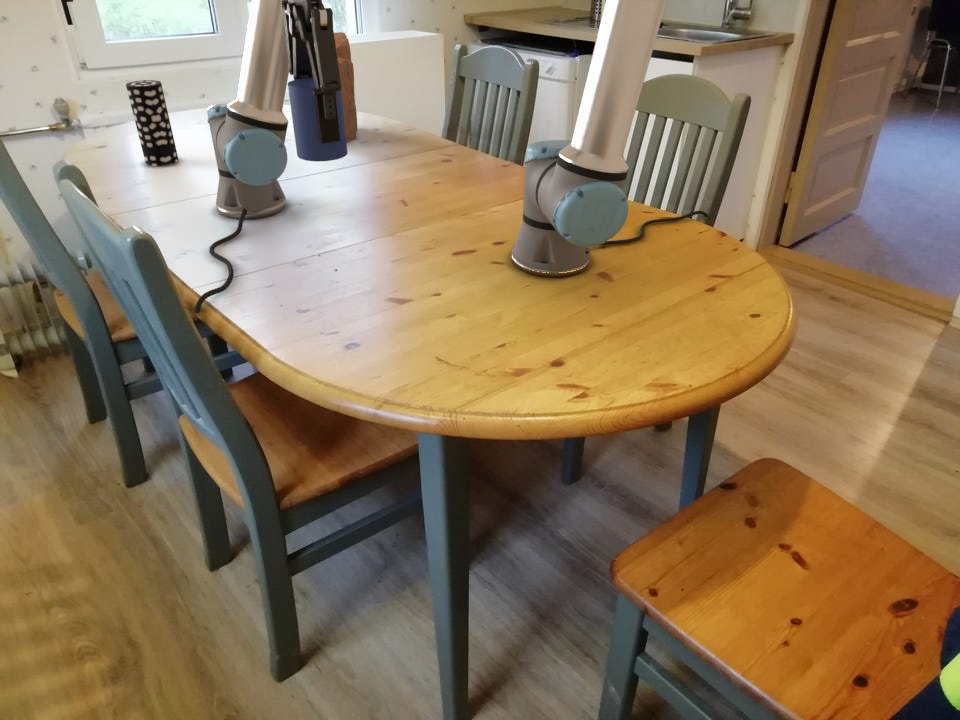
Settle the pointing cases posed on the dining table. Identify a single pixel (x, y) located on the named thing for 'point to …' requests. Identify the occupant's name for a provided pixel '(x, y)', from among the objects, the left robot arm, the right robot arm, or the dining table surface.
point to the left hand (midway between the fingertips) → (24, 26)
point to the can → (313, 123)
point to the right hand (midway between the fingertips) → (320, 134)
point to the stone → (346, 84)
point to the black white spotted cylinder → (152, 122)
